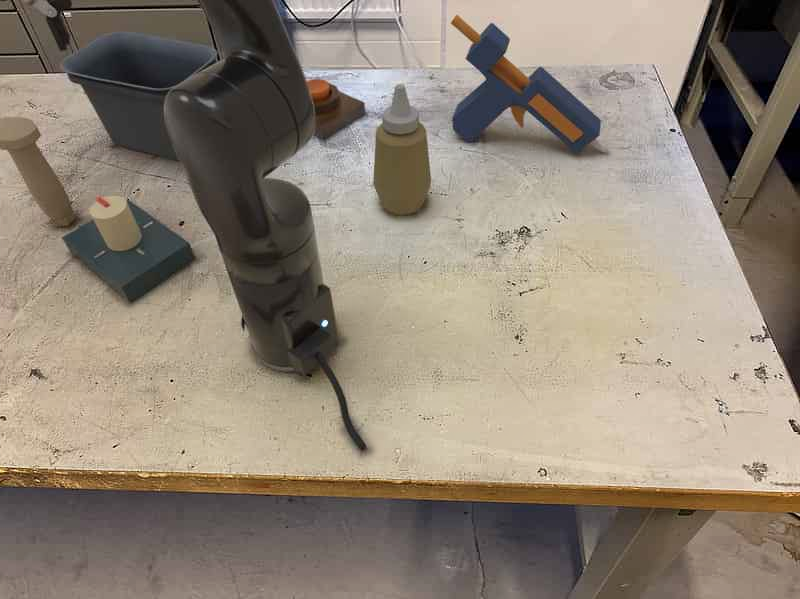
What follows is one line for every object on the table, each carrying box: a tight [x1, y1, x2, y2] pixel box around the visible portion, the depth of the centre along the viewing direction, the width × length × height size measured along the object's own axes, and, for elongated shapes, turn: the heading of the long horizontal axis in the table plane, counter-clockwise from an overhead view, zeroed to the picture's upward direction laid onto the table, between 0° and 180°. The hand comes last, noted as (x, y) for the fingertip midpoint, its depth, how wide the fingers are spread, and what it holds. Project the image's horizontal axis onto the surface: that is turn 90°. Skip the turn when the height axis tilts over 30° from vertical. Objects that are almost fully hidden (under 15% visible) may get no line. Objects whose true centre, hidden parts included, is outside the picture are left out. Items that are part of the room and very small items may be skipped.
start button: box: [306, 78, 330, 102], centre depth 98 cm, size 4×4×2 cm
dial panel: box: [61, 199, 196, 304], centre depth 78 cm, size 14×10×3 cm
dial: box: [89, 195, 142, 251], centre depth 75 cm, size 4×4×6 cm
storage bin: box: [59, 31, 219, 161], centre depth 92 cm, size 21×16×14 cm
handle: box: [0, 116, 77, 228], centre depth 79 cm, size 5×6×15 cm
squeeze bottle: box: [372, 83, 432, 216], centre depth 79 cm, size 8×8×18 cm
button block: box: [313, 82, 366, 141], centre depth 100 cm, size 12×10×4 cm
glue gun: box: [450, 14, 607, 154], centre depth 92 cm, size 6×31×15 cm
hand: (24, 54), depth 68 cm, fingers open, 8 cm apart
